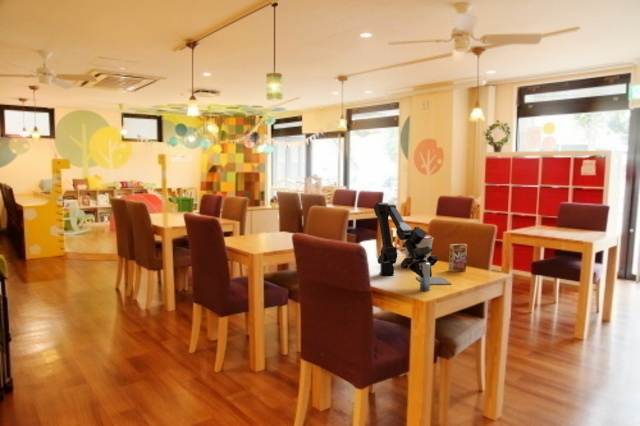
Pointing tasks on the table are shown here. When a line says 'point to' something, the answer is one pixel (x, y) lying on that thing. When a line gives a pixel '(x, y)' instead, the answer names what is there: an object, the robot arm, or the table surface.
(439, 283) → the gray mat
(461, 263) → the candy box
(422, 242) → the canister
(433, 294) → the table surface
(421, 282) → the tin canister
